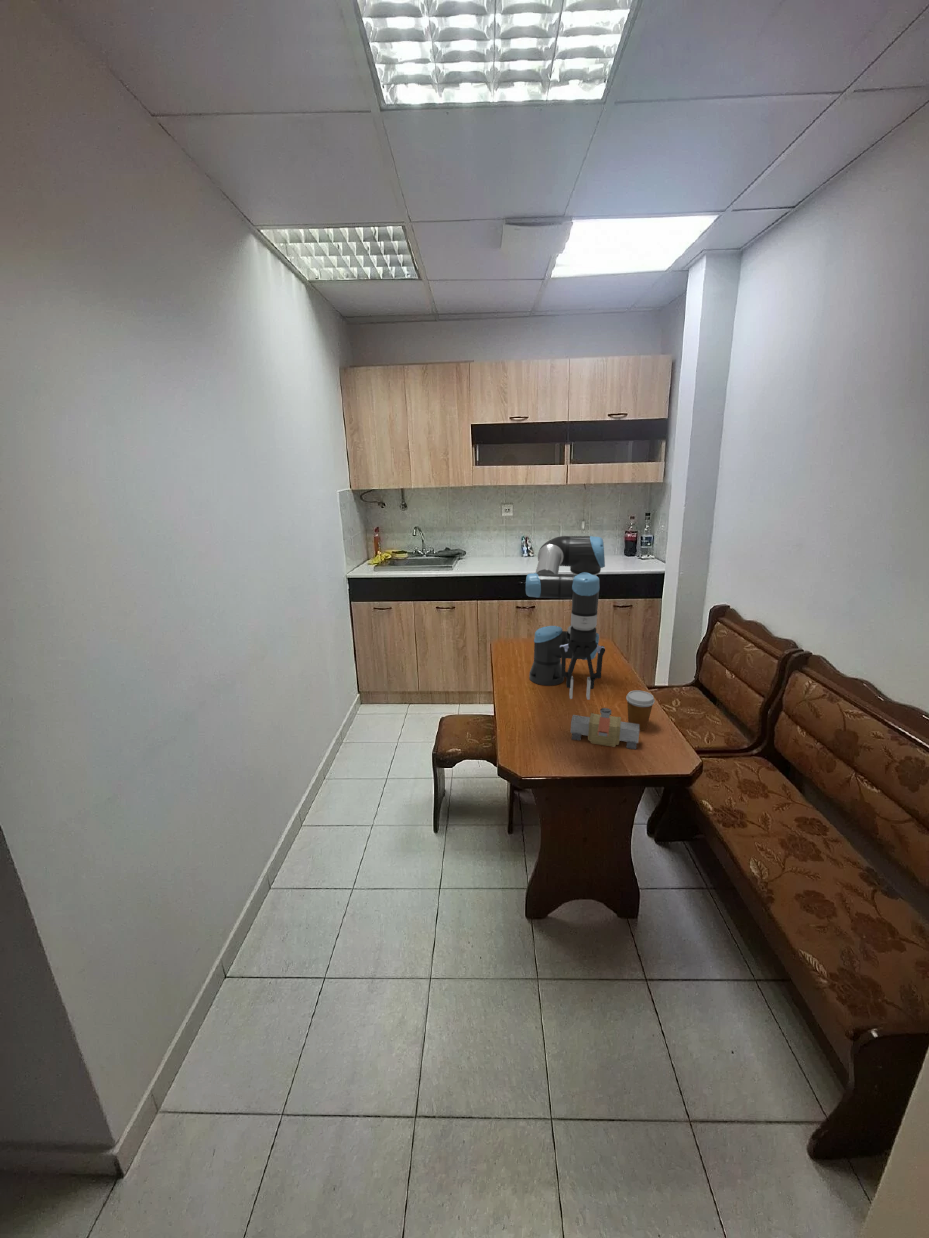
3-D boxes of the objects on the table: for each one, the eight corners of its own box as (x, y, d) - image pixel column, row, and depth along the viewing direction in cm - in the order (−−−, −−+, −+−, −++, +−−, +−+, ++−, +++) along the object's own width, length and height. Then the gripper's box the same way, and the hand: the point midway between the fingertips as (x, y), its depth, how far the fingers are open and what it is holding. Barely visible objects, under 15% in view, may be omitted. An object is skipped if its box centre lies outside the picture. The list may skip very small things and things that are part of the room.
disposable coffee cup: (648, 735, 168) (651, 704, 164) (620, 728, 173) (623, 698, 169) (654, 723, 176) (657, 693, 172) (627, 716, 181) (630, 687, 177)
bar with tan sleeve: (569, 739, 166) (571, 714, 163) (572, 729, 173) (573, 705, 170) (637, 750, 159) (640, 724, 156) (637, 739, 166) (640, 714, 163)
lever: (600, 710, 165) (600, 706, 165) (611, 712, 164) (611, 708, 164) (596, 735, 150) (597, 731, 150) (608, 737, 149) (609, 733, 148)
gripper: (553, 629, 142) (551, 701, 150) (615, 631, 140) (609, 704, 147) (553, 621, 149) (550, 690, 157) (612, 623, 147) (606, 693, 154)
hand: (579, 697), depth 152 cm, fingers open, 4 cm apart
